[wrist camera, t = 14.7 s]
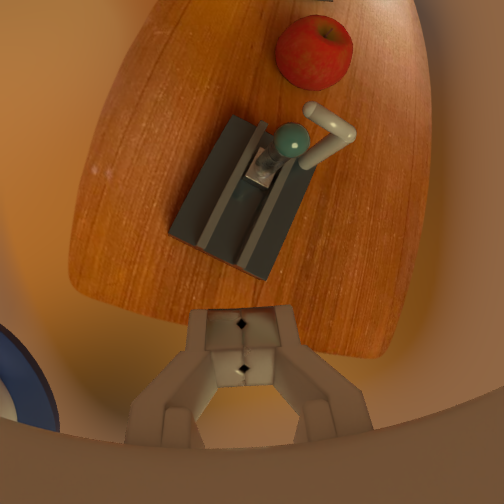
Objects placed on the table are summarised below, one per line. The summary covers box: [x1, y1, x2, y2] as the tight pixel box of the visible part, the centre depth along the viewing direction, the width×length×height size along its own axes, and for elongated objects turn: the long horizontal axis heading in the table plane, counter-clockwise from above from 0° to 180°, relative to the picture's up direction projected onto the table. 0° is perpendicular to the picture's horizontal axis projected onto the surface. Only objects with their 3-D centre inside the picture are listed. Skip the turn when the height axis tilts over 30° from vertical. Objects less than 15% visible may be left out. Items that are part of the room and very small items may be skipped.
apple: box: [275, 15, 353, 91], centre depth 36 cm, size 11×11×11 cm
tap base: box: [168, 101, 357, 281], centre depth 31 cm, size 12×16×14 cm
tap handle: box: [242, 122, 310, 191], centre depth 30 cm, size 3×4×12 cm
